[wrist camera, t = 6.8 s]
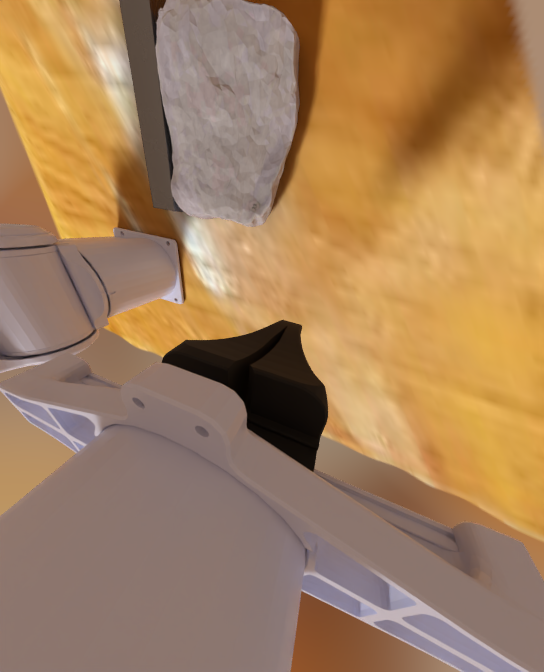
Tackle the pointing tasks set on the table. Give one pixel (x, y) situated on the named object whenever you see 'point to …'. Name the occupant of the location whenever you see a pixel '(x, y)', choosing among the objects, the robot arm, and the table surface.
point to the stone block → (227, 104)
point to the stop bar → (149, 96)
